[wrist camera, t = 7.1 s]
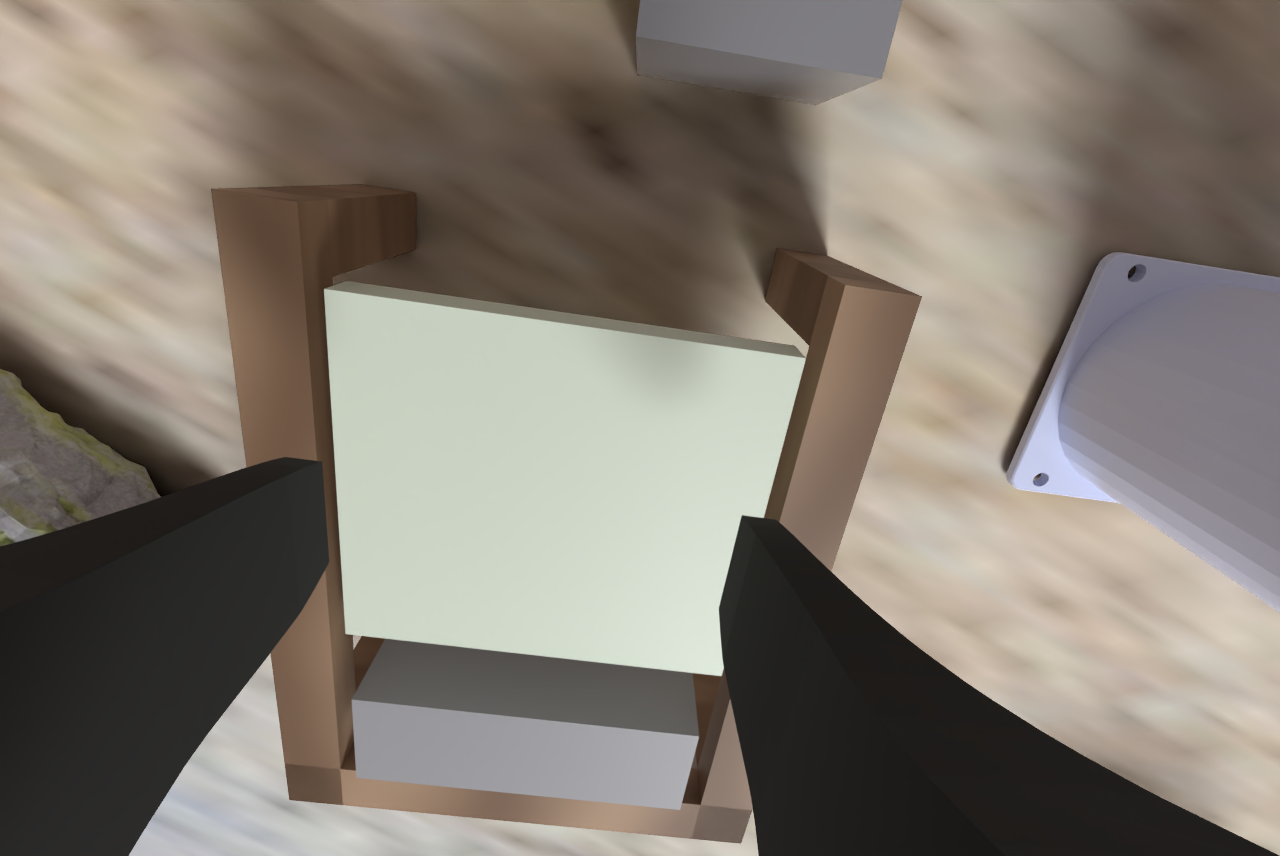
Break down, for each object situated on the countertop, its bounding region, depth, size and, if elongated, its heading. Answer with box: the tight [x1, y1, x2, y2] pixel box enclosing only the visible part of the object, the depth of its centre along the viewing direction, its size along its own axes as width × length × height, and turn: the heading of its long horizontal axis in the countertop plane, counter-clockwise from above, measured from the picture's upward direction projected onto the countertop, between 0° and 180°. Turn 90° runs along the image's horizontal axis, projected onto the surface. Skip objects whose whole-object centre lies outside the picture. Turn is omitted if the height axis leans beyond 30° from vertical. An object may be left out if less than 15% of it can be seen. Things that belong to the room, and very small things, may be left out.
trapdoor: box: [324, 281, 806, 810], centre depth 15 cm, size 14×10×2 cm
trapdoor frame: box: [211, 184, 922, 843], centre depth 18 cm, size 14×17×6 cm
